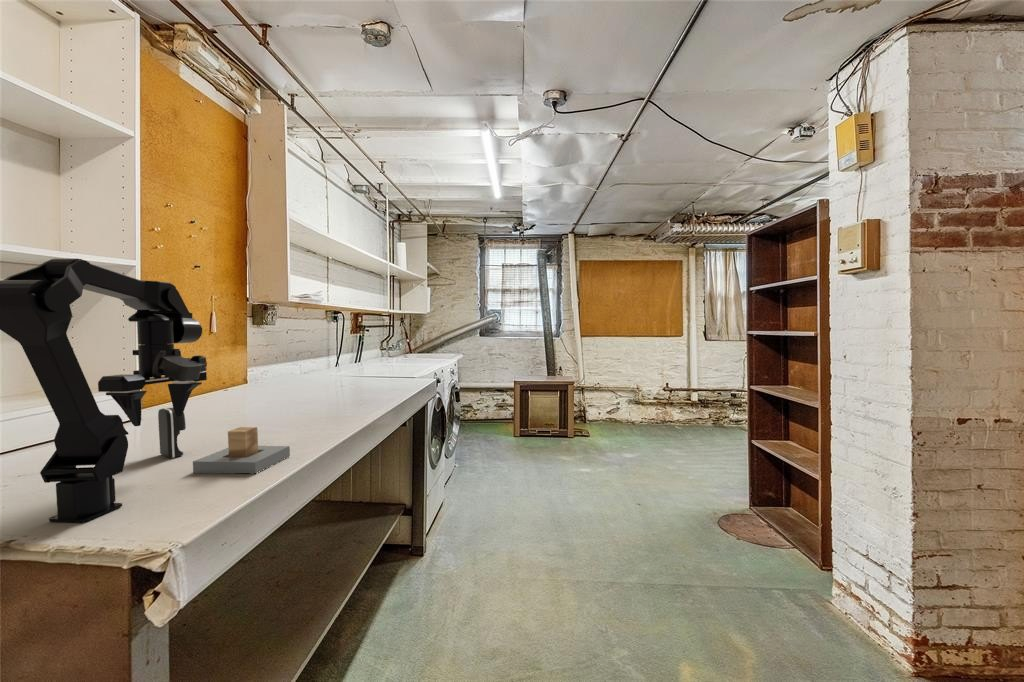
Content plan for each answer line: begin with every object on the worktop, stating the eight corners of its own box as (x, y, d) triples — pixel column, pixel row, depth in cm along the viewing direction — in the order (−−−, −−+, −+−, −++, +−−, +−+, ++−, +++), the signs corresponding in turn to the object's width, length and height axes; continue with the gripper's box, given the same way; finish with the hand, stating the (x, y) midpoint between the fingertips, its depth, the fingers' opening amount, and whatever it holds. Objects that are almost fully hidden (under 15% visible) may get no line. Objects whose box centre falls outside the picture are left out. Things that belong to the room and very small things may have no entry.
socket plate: (255, 474, 92) (255, 462, 91) (193, 473, 93) (192, 461, 93) (289, 456, 103) (289, 446, 103) (234, 455, 105) (233, 445, 105)
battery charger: (188, 455, 106) (186, 408, 105) (169, 459, 103) (167, 411, 102) (178, 450, 110) (176, 405, 109) (159, 454, 107) (157, 407, 106)
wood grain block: (246, 467, 96) (245, 431, 96) (229, 467, 96) (227, 431, 96) (258, 461, 100) (257, 427, 100) (242, 461, 100) (240, 426, 100)
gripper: (147, 345, 79) (151, 432, 79) (227, 342, 97) (230, 412, 98) (93, 346, 80) (97, 431, 81) (182, 343, 99) (185, 412, 99)
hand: (159, 421), depth 90 cm, fingers open, 9 cm apart
